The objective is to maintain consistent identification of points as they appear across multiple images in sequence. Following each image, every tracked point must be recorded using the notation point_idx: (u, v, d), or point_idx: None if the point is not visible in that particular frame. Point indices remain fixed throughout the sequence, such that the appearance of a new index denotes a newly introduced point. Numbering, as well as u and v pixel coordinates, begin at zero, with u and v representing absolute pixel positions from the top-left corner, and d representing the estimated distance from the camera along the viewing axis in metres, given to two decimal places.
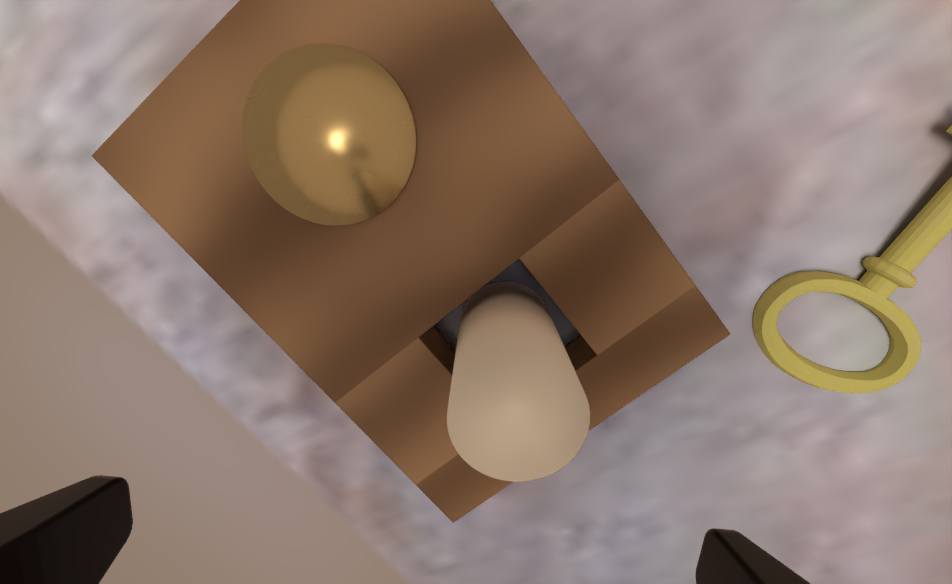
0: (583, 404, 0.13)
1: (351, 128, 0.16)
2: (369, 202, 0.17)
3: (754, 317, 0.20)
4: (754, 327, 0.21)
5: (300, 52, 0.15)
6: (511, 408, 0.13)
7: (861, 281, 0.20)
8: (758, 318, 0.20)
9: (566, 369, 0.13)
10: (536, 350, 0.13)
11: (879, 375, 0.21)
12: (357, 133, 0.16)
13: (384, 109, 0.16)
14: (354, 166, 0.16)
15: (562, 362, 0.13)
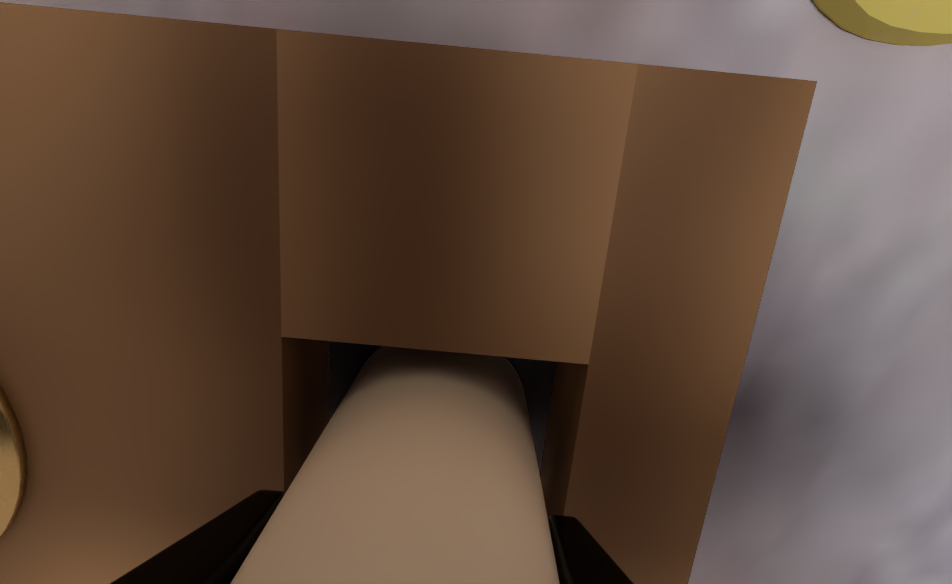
0: None
1: None
2: None
3: (826, 9, 0.08)
4: (845, 24, 0.08)
5: None
6: None
7: None
8: (836, 1, 0.08)
9: None
10: None
11: None
12: None
13: None
14: None
15: None
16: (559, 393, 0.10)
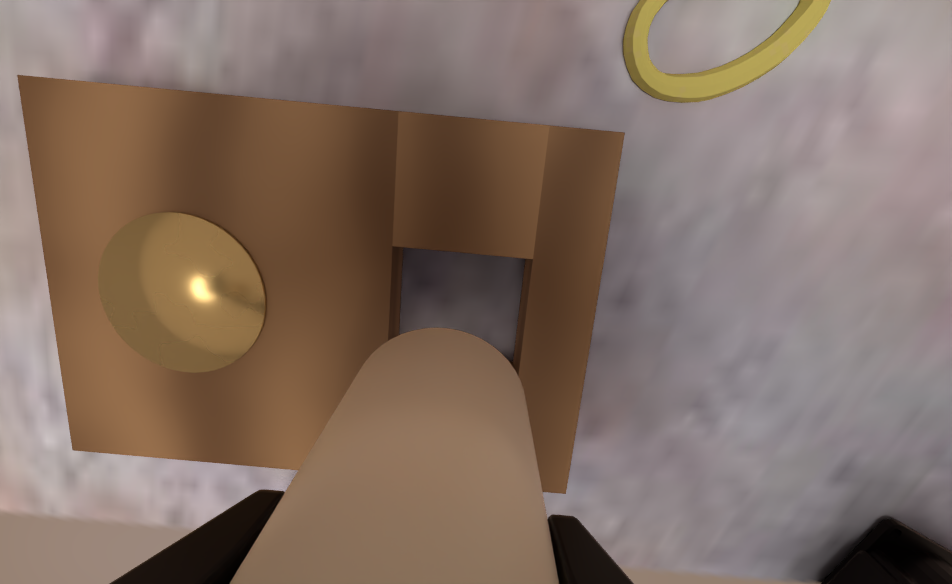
0: None
1: (186, 274, 0.17)
2: (250, 312, 0.17)
3: (643, 90, 0.17)
4: (654, 96, 0.17)
5: (106, 258, 0.17)
6: None
7: None
8: (645, 87, 0.17)
9: None
10: None
11: None
12: (195, 273, 0.17)
13: (191, 239, 0.16)
14: (216, 298, 0.17)
15: None
16: (524, 285, 0.19)
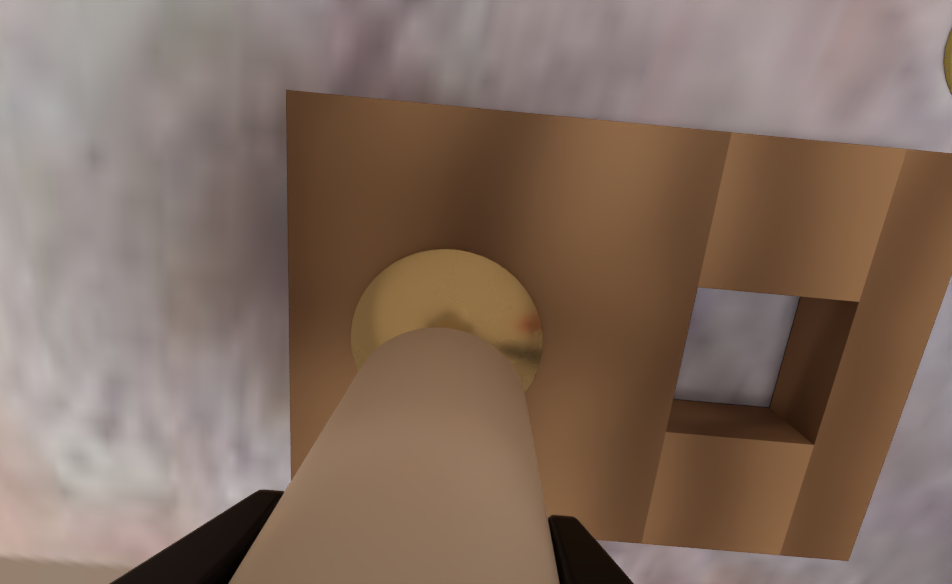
0: None
1: (456, 319, 0.14)
2: (523, 362, 0.15)
3: None
4: None
5: (365, 301, 0.14)
6: None
7: None
8: None
9: None
10: None
11: None
12: (463, 317, 0.15)
13: (468, 279, 0.14)
14: None
15: None
16: (807, 326, 0.16)
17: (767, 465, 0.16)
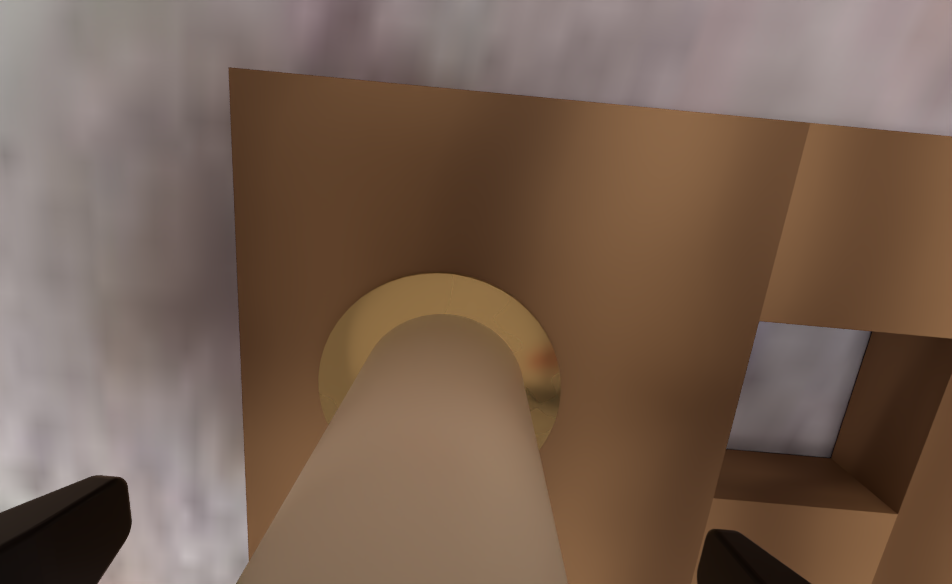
0: None
1: None
2: (537, 414, 0.12)
3: None
4: None
5: (336, 339, 0.11)
6: None
7: None
8: None
9: None
10: None
11: None
12: None
13: (467, 312, 0.11)
14: None
15: None
16: (885, 364, 0.13)
17: (838, 538, 0.13)
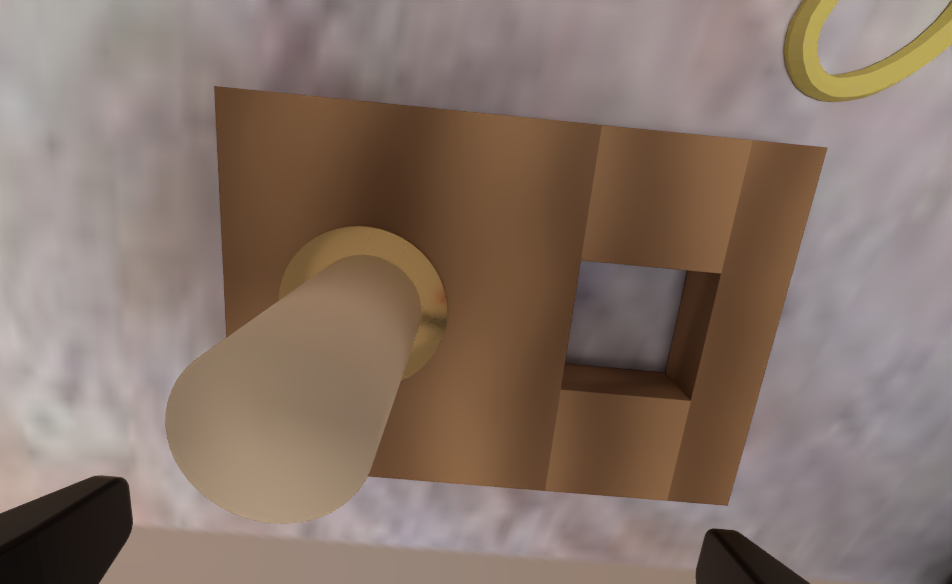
0: (310, 357, 0.09)
1: None
2: (431, 327, 0.17)
3: (809, 95, 0.17)
4: (820, 99, 0.17)
5: (290, 272, 0.16)
6: (249, 431, 0.09)
7: None
8: (814, 92, 0.17)
9: (249, 339, 0.09)
10: (214, 346, 0.09)
11: None
12: None
13: (379, 253, 0.16)
14: None
15: (252, 332, 0.09)
16: (690, 298, 0.19)
17: (651, 419, 0.18)
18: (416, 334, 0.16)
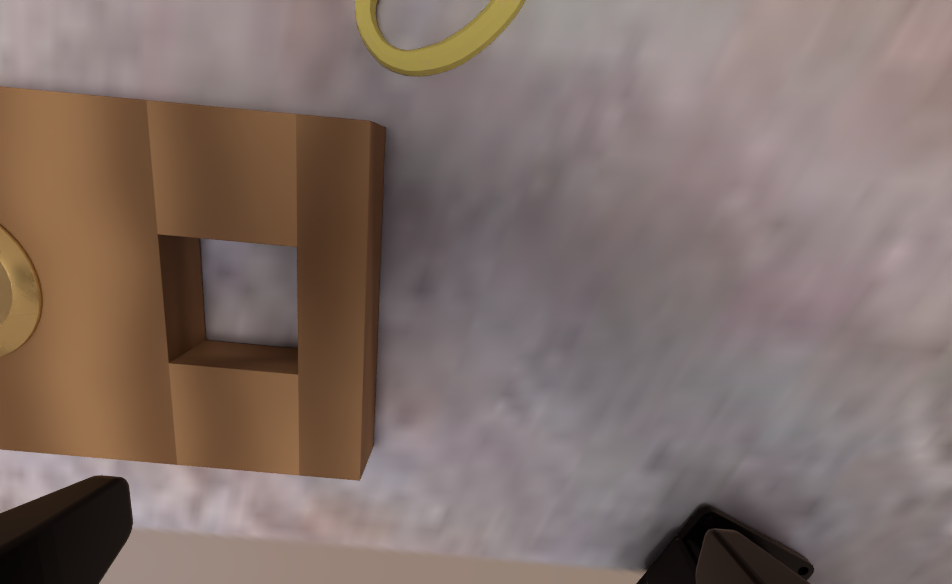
0: None
1: None
2: (24, 300, 0.17)
3: (394, 71, 0.17)
4: (405, 74, 0.18)
5: None
6: None
7: None
8: (392, 68, 0.17)
9: None
10: None
11: None
12: None
13: None
14: None
15: None
16: None
17: (263, 393, 0.18)
18: None
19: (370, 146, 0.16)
